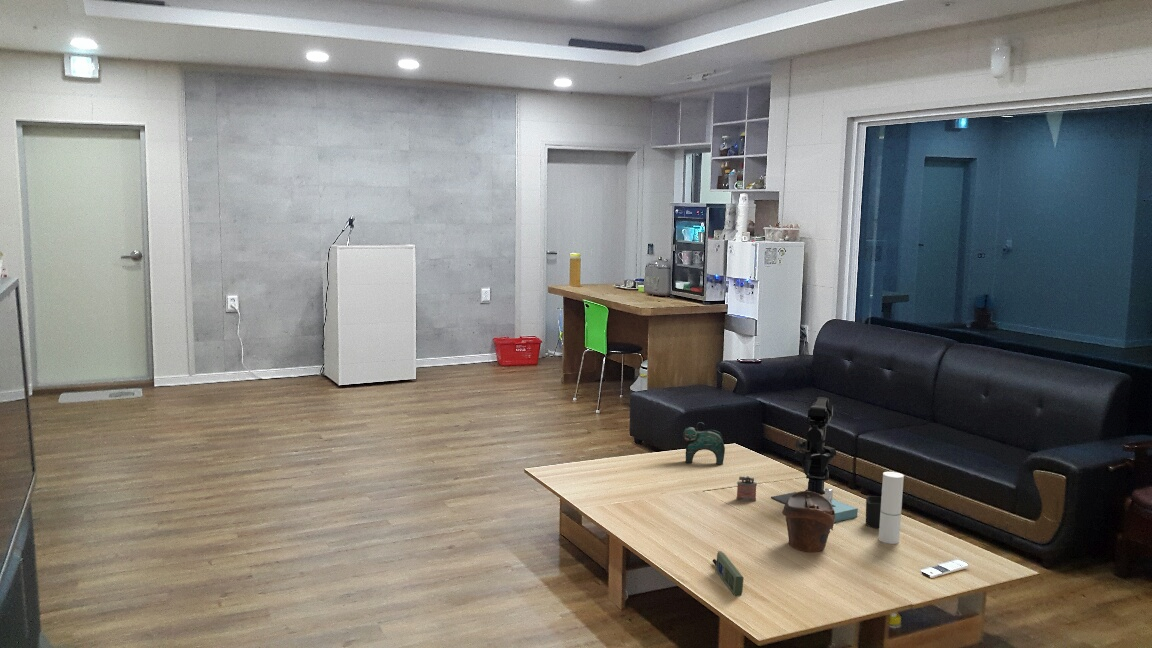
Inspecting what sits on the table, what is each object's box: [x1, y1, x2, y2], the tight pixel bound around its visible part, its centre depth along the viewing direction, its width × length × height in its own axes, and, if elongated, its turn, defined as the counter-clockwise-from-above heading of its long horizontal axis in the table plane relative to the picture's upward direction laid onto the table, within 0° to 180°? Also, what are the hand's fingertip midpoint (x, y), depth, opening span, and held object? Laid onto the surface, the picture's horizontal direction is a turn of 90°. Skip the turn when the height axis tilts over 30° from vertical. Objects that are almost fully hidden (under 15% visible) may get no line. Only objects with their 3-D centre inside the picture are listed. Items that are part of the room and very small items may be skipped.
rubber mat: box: [770, 491, 797, 505], centre depth 364 cm, size 14×14×1 cm
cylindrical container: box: [878, 471, 905, 545], centre depth 320 cm, size 7×7×25 cm
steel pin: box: [824, 487, 834, 505], centre depth 348 cm, size 3×3×10 cm
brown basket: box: [781, 490, 835, 553], centre depth 313 cm, size 18×20×18 cm
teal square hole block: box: [823, 496, 859, 523], centre depth 348 cm, size 16×16×4 cm
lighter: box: [736, 476, 758, 502], centre depth 363 cm, size 8×3×10 cm, turn 84°
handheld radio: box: [712, 550, 745, 597], centre depth 284 cm, size 7×3×25 cm
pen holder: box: [865, 495, 881, 530], centre depth 337 cm, size 9×9×10 cm
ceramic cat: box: [682, 421, 726, 466], centre depth 415 cm, size 20×6×20 cm, turn 80°
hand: (814, 473), depth 362 cm, fingers open, 9 cm apart
